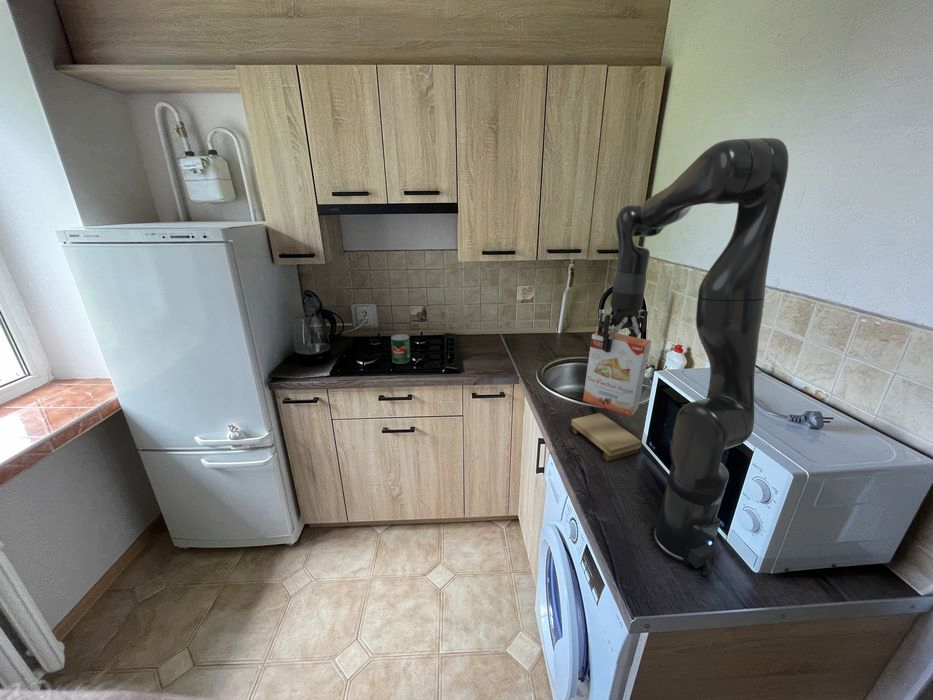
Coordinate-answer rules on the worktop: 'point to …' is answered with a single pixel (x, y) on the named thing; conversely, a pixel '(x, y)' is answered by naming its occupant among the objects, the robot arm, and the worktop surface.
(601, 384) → the cracker box
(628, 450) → the tan wooden slab
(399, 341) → the canned tomato
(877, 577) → the worktop surface
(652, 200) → the robot arm
